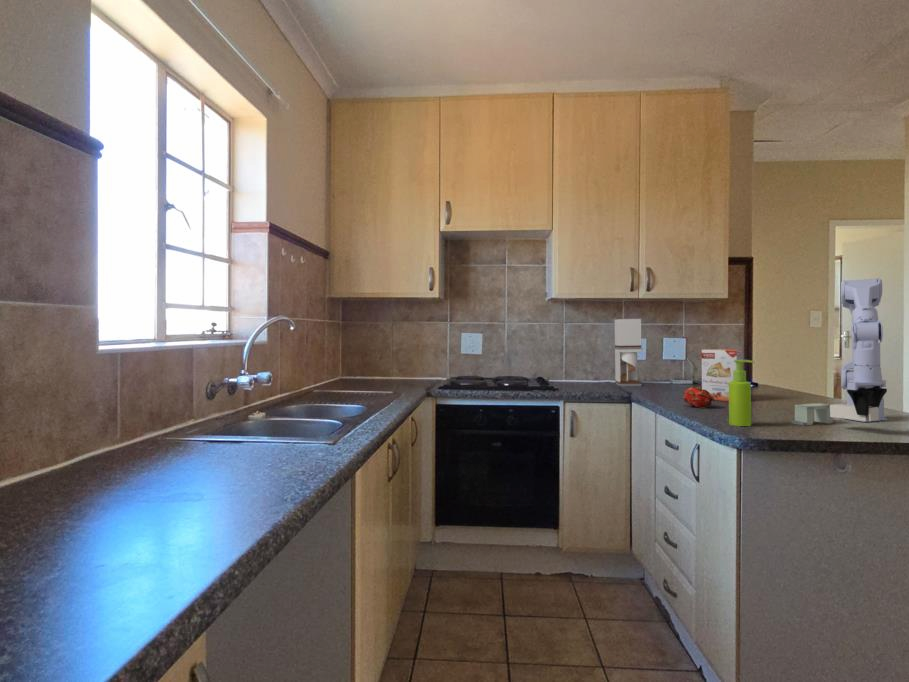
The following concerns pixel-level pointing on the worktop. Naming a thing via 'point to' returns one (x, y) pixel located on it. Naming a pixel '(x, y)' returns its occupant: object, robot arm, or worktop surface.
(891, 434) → the worktop surface
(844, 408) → the bar
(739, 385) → the soap dispenser
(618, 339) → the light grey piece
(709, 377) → the cracker box
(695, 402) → the dragon fruit
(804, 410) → the pale green block
